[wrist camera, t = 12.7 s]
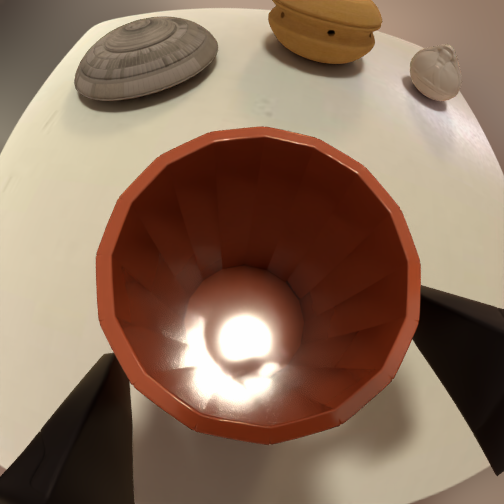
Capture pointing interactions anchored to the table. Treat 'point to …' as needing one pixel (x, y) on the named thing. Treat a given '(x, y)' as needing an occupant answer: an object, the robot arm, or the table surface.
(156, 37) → the flying saucer
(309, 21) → the pot
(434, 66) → the figurine
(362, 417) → the table surface
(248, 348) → the tumbler
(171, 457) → the table surface
